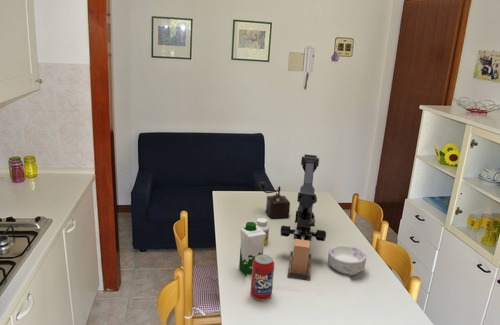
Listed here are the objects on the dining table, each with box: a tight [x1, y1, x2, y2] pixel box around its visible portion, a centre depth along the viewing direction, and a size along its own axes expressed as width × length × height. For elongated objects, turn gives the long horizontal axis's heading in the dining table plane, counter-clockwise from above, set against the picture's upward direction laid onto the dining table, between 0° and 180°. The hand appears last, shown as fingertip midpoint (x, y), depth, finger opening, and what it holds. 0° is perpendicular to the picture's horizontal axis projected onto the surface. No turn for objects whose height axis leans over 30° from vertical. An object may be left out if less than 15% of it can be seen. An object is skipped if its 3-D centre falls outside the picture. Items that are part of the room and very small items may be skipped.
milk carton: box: [238, 221, 266, 277], centre depth 164 cm, size 9×9×20 cm
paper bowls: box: [327, 244, 367, 277], centre depth 171 cm, size 15×15×8 cm
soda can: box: [250, 254, 275, 301], centre depth 149 cm, size 8×8×15 cm
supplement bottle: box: [256, 217, 270, 247], centre depth 186 cm, size 7×7×13 cm
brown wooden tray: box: [286, 251, 312, 282], centre depth 169 cm, size 18×9×4 cm, turn 171°
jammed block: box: [291, 238, 311, 274], centre depth 165 cm, size 6×6×12 cm
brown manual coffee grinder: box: [258, 181, 291, 220], centre depth 220 cm, size 16×11×18 cm
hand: (301, 253), depth 168 cm, fingers closed, pressing on jammed block
